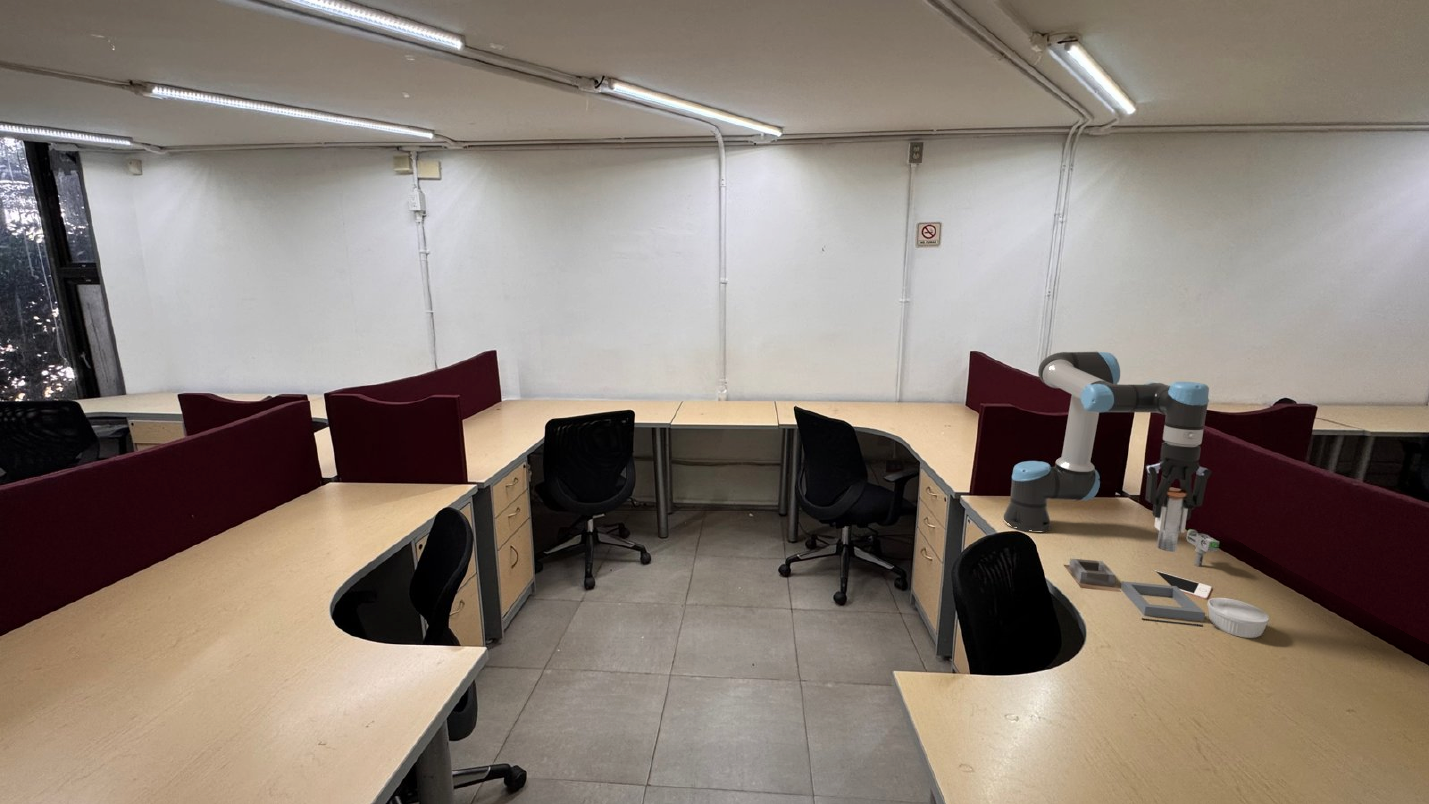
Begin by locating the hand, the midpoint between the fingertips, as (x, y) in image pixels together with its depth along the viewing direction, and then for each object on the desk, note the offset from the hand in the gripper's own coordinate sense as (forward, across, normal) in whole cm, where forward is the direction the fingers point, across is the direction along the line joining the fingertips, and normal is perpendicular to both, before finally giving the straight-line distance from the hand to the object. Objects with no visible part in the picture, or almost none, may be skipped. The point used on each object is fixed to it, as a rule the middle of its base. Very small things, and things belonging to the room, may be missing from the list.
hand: (1169, 529), depth 141 cm
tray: (+23, 0, 0) cm, 23 cm away
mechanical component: (+23, +24, +30) cm, 45 cm away
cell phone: (+24, +10, +17) cm, 31 cm away
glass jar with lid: (+5, 0, 0) cm, 5 cm away
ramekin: (+23, +14, -5) cm, 28 cm away
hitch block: (+23, -12, +12) cm, 28 cm away
